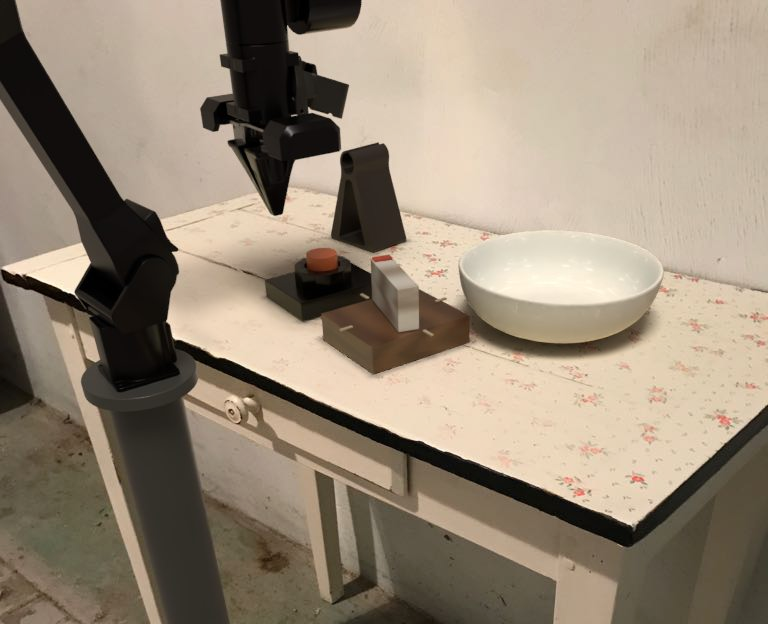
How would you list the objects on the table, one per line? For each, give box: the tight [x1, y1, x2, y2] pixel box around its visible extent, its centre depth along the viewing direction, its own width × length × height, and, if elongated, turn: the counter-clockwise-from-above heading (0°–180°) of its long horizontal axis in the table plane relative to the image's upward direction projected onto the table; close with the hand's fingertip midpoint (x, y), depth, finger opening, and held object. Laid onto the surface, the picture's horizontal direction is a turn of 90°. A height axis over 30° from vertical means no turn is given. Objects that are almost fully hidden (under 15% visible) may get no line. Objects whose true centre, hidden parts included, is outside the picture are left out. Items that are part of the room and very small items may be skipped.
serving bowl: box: [458, 229, 665, 344], centre depth 87 cm, size 21×21×7 cm
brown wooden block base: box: [320, 288, 471, 375], centre depth 86 cm, size 13×13×3 cm
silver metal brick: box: [370, 254, 420, 332], centre depth 84 cm, size 9×2×5 cm, turn 18°
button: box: [305, 247, 338, 271], centre depth 95 cm, size 4×4×2 cm
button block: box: [264, 255, 372, 322], centre depth 96 cm, size 11×9×4 cm
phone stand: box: [330, 141, 407, 253], centre depth 109 cm, size 9×6×12 cm, turn 43°
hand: (276, 214), depth 84 cm, fingers closed
